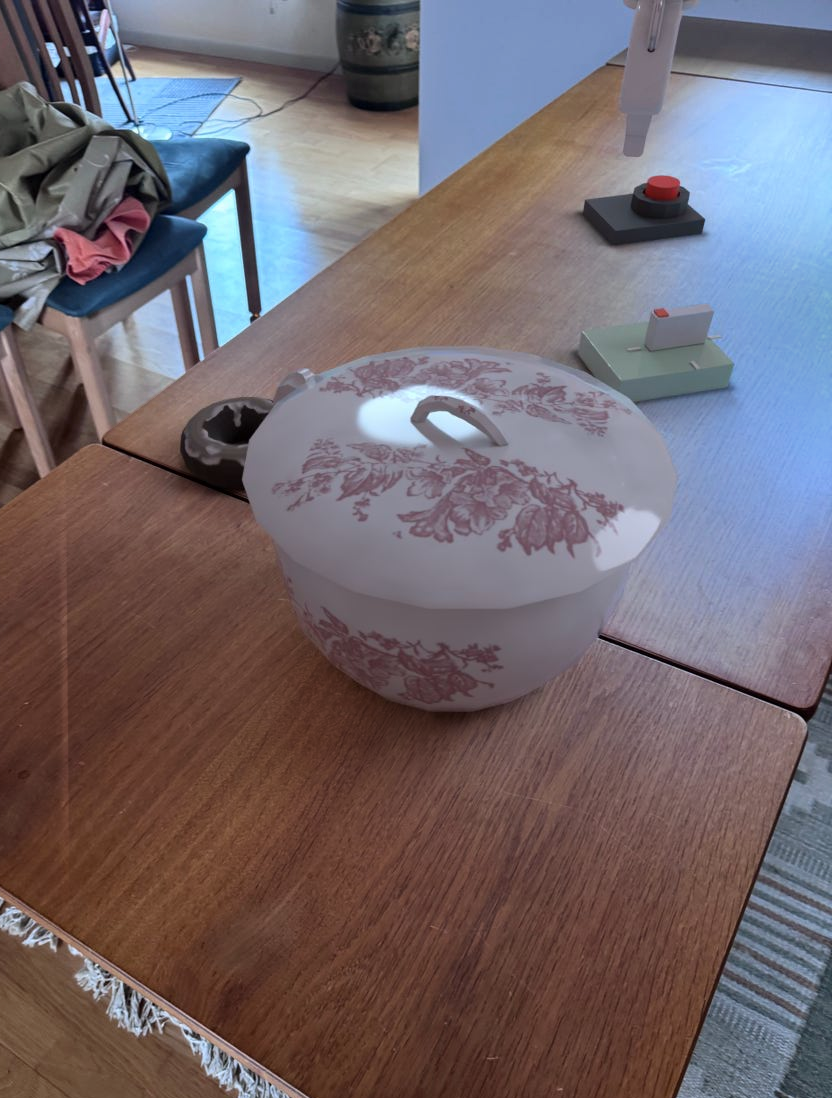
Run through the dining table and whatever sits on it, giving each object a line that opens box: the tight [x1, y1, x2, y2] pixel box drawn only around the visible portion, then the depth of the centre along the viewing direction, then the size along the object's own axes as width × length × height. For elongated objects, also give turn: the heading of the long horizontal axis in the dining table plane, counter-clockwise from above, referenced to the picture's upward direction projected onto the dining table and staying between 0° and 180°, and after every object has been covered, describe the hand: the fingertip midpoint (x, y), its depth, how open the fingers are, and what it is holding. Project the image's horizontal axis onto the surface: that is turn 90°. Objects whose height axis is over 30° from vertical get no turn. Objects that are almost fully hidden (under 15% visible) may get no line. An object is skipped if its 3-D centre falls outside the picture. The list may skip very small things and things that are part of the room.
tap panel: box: [577, 320, 735, 403], centre depth 93 cm, size 13×10×3 cm
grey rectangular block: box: [644, 303, 715, 351], centre depth 91 cm, size 6×2×4 cm, turn 102°
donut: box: [179, 396, 274, 490], centre depth 85 cm, size 12×12×4 cm
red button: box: [645, 174, 681, 200], centre depth 115 cm, size 4×4×2 cm
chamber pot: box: [242, 345, 679, 713], centre depth 63 cm, size 28×28×21 cm
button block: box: [582, 182, 706, 247], centre depth 116 cm, size 12×10×4 cm
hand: (636, 135), depth 86 cm, fingers open, 8 cm apart
